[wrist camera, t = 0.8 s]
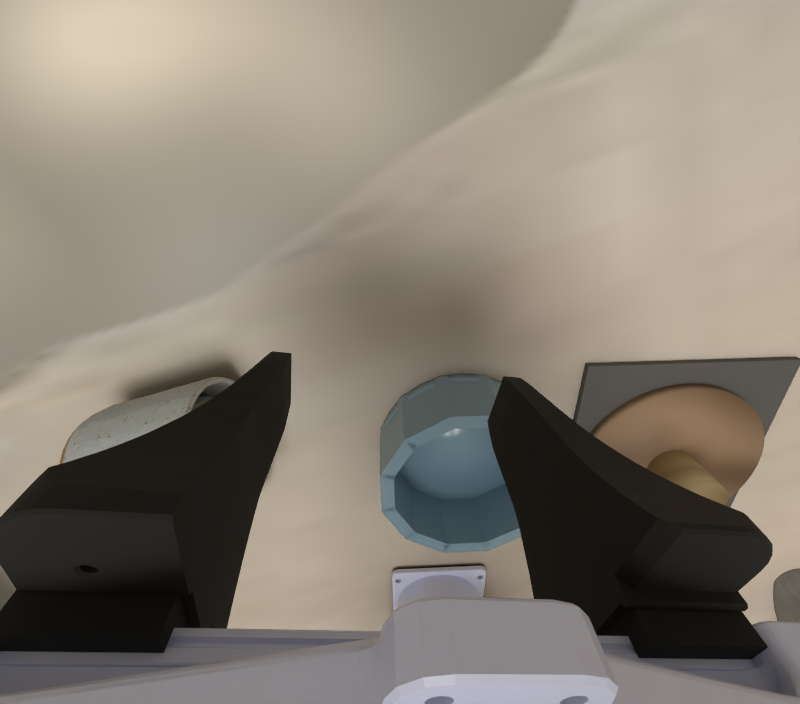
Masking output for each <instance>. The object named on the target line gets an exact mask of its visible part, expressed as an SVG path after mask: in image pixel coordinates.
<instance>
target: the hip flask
mask: <svg viewBox="0 0 800 704" xmlns="http://www.w3.org/2000/svg"><path fill="white" fill-rule="evenodd" d="M774 607H775V612H776V616H777V619H778V621H779V622H800V569H795V570H791V571H788V572H786V573H784V574H782V575H781V576H779V577H778V578H777V579H776V581H775V583H774Z"/></svg>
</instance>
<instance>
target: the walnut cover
mask: <svg viewBox="0 0 800 704" xmlns="http://www.w3.org/2000/svg"><path fill="white" fill-rule="evenodd" d="M590 434H592V435H593V436H595V437H596V438H597V439H599V440H600V441H602V442H603V443H605V444H606V445H608V446H609V447H611V448H613V449H614V450H616V451H617V452H619V453H620V454H622V455H624V456H625V457H627V458H629V459H630V460H632V461H634V462H635V463H637V464H639V465H641V466H643V467H644V468H646V469H648V470H650V471H652V472H653V473H655V474H657V475H659V476H661V477H663V478H665V479H667V480H669V481H671V482H673V483H675V484H677V485H679V486H682V487H684V488H686V489H688V490H690V491H692V492H694V493H696V494H699V495H701V496H703V497H706V498H708V499H711V500H713V501H715V502H718V503H720V504H723V505H726V503H727V501H728V499H729V498H730V497H731V496H733V495H734V494H735V493H736V492H737V491H738V490H739V489H740V488H741V487H742V486H743V485H744V483H745V482H746V481H747V480H748V478H749V477H750V476H751V474H752V473H753V471H754V470H755V468H756V466H757V464H758V462H759V460H760V457H761V455H762V451H763V447H764V428H763V425H762V421H761V419H760V417H759V415H758V414H757V412H756V411H755V410H754V409H753V408H752V406H751V405H749V404H748V403H747V402H745V401H744V400H743V399H741V398H740V397H738V396H736V395H735V394H733V393H731V392H729V391H727V390H725V389H723V388H720V387H716V386H713V385H707V384H694V383H688V384H677V385H671V386H666V387H662V388H659V389H655V390H652V391H649V392H647V393H644V394H642V395H639V396H637V397H635V398H633V399H631V400H629V401H627V402H625V403H624V404H622V405H621V406H619V407H618V408H616V409H615V410H613V411H612V412H611V413H610V414H608V415H607V416H606V417H604V418H603V419H602V420H601V421H600V422H599V423H598V424H597V425H596V426H595V427H594V428H593V430H592V431H591V432H590Z"/></svg>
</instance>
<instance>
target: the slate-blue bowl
mask: <svg viewBox="0 0 800 704" xmlns="http://www.w3.org/2000/svg"><path fill="white" fill-rule="evenodd" d="M500 385H501V382H500V381H498V380H495V379H493V378H489V377H487V376H485V375H472V374H459V375H450V376H439V377H438V378H436V379H434V380H431V381H428V382H426V383H424V384H422V385H420V386H418V387H416V388H415V389H413V390H411V391H410V392H409V393H407V394H405V395H404V396H402V397H401V398H400V400H399V401H398V402H397V403H396V404H395V406H394V407H393V408H392V410H391V411H390V412H389V414H388V416H387V418H386V420H385V422H384V424H383V426H382V427H381V437H380V483H381V503H382V512H383V513H384V515H385V516H386V517H387V518H388V519H389V520H390V521H391V523H392V524H393V525H394V526H395V527H396V528H397V529H398V531H399V532H400V533H401V534H402V535H403V536H404V537H405V539H407V540H410V541H413V542H416V543H419V544H421V545H424V546H427V547H430V548H433V549H435V550H438V551H441V552H467V551H488V550H490V549H492V548H495V547H497V546H500V545H502V544H504V543H507V542H509V541H512V540H514V539H516V538H519V537H521V533H520V529H519V525H518V521H517V517H516V513H515V510H514V507H513V504H512V501H511V498H510V495H509V492H508V490H507V487H506V484H505V481H504V479H503V476H502V473H501V470H500V467H499V465H498V462H497V459H496V456H495V453H494V450H493V447H492V443H491V438H490V433H489V428H488V422H487V421H488V418H489V415H490V413H491V410H492V407H493V404H494V402H495V399H496V396H497V393H498V391H499V388H500Z"/></svg>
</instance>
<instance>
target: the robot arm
mask: <svg viewBox="0 0 800 704" xmlns="http://www.w3.org/2000/svg"><path fill="white" fill-rule="evenodd" d="M290 404H291V353H282V352H273V351H272V352H271V353H269V354H268V355H267V356H266V357H264V358H263V359H262V360H261V361H260V362H259V363H258V364H256V365H255V366H254V367H253V368H252V369H250V370H249V371H248V372H247V373H246V374H244V375H243V376H242V377H241V378H239V379H238V380H237V381H235V382H234V383H233V384H232V385H230V386H229V387H228V388H226V389H225V390H223V391H222V392H220V393H219V394H218V395H216V396H215V397H213V398H212V399H211V400H209V401H207V402H206V403H204V404H203V405H201V406H199V407H198V408H196V409H194V410H192V411H190V412H189V413H187V414H185V415H183V416H181V417H180V418H178V419H176V420H173V421H171V422H169V423H167V424H165V425H163V426H161V427H159V428H157V429H155V430H153V431H151V432H148V433H146V434H144V435H141V436H139V437H137V438H134V439H132V440H129V441H127V442H124V443H122V444H119V445H116V446H114V447H111V448H108V449H105V450H103V451H100V452H97V453H94V454H91V455H88V456H84V457H81V458H78V459H75V460H72V461H69V462H66V463H62V464H59V465H56V466H52V467H49V468H48V469H47V470H46V471H45V472H43V473H42V474H41V475H40V476H39V477H38V478H37V479H36V480H35V481H34V482H33V483H32V484H31V485H30V486H29V487H28V488H27V490H26V491H25V492H24V493H23V494H22V495H21V496H20V497H19V498H18V499H17V500H16V501H15V502H14V503H13V504H12V505H11V506H10V508H9V509H8V510H7V511H6V512H5V513H4V514H3V515H2V516H1V517H0V565H1V566H2V568H3V569H4V571H5V572H6V574H7V575H8V577H9V578H10V580H11V581H12V583H13V584H14V586H15V588H16V589H17V590H16V591H15V593H14V594H13V595H12V596H11V598H10V599H9V600H8V602H7V603H6V604H5V605H4V607H3V608H0V704H800V622H779V621H766V622H759V623H756V624H753V625H751V623H750V622H749V621H748V619H747V618H746V617H745V615H744V614H743V613H742V611H745V610H747V609H748V604H747V603H746V601H745V600H744V599H743V598H742V596H741V595H740V594H739V592H738V591H739V590H740V589H741V588H742V587H743V586H744V585H746V584H747V583H748V582H749V581H750V580H751V579H752V578H754V577H755V576H756V575H757V574H758V573H759V572H760V571H761V570H762V569H763V568H764V567H765V566H766V565H767V564H768V562H769V560H770V558H771V556H772V543H771V542H770V540H769V539H768V538H767V537H766V536H765V535H764V534H763V533H762V531H761V530H760V529H759V528H758V527H757V526H756V525H755V524H754V523H753V522H752V521H751V520H750V519H749V518H748V516H746V515H745V514H744V513H742V512H740V511H737V510H735V509H732V508H730V507H728V506H725V505H723V504H720V503H718V502H715V501H713V500H711V499H708V498H706V497H703V496H701V495H699V494H696V493H694V492H692V491H690V490H688V489H686V488H684V487H682V486H679V485H677V484H675V483H673V482H671V481H669V480H667V479H665V478H663V477H661V476H659V475H657V474H655V473H653V472H652V471H650V470H648V469H646V468H644V467H643V466H641V465H639V464H637V463H635V462H634V461H632V460H630V459H629V458H627V457H625V456H624V455H622V454H620V453H619V452H617V451H616V450H614V449H613V448H611V447H609V446H608V445H606V444H605V443H603V442H602V441H600V440H599V439H597V438H596V437H595V436H593V435H592V434H590V433H589V432H588V431H586V430H585V429H584V428H582V427H581V426H580V425H578V424H577V423H576V422H574V421H573V420H572V419H571V418H569V417H568V416H567V415H566V414H564V413H563V412H562V411H561V410H559V409H558V408H557V407H556V406H555V405H553V404H552V403H551V402H550V401H549V400H547V399H546V398H545V397H544V396H543V395H541V394H540V393H539V392H538V391H537V390H535V389H534V388H533V387H532V386H530V385H529V384H528V383H527V382H525V381H524V380H522V379H521V378H515V377H505V376H504V377H503V379H502V382H501V385H500V388H499V391H498V393H497V396H496V399H495V402H494V404H493V407H492V410H491V413H490V415H489V418H488V421H487V422H488V428H489V433H490V438H491V443H492V447H493V450H494V453H495V456H496V459H497V462H498V465H499V467H500V470H501V473H502V476H503V479H504V481H505V484H506V487H507V490H508V492H509V495H510V498H511V501H512V504H513V507H514V510H515V513H516V517H517V521H518V525H519V529H520V533H521V537H522V541H523V546H524V550H525V555H526V560H527V564H528V569H529V574H530V579H531V585H532V590H533V596H534V599H517V598H485V597H483V595H484V587H485V579H486V569H485V567H483V566H461V567H439V568H417V569H397V570H394V571H393V572H392V588H393V613H392V615H391V616H390V617H389V618H388V619H387V621H386V622H385V623H384V624H383V627H382V630H381V631H328V630H275V629H227V625H228V620H229V616H230V611H231V607H232V603H233V598H234V594H235V590H236V586H237V582H238V577H239V573H240V569H241V565H242V561H243V557H244V553H245V549H246V545H247V541H248V537H249V533H250V529H251V525H252V522H253V518H254V514H255V510H256V507H257V503H258V499H259V496H260V493H261V490H262V487H263V485H264V482H265V479H266V477H267V474H268V472H269V469H270V466H271V464H272V461H273V458H274V456H275V453H276V451H277V448H278V445H279V443H280V440H281V437H282V435H283V432H284V429H285V425H286V421H287V417H288V412H289V408H290Z"/></svg>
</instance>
